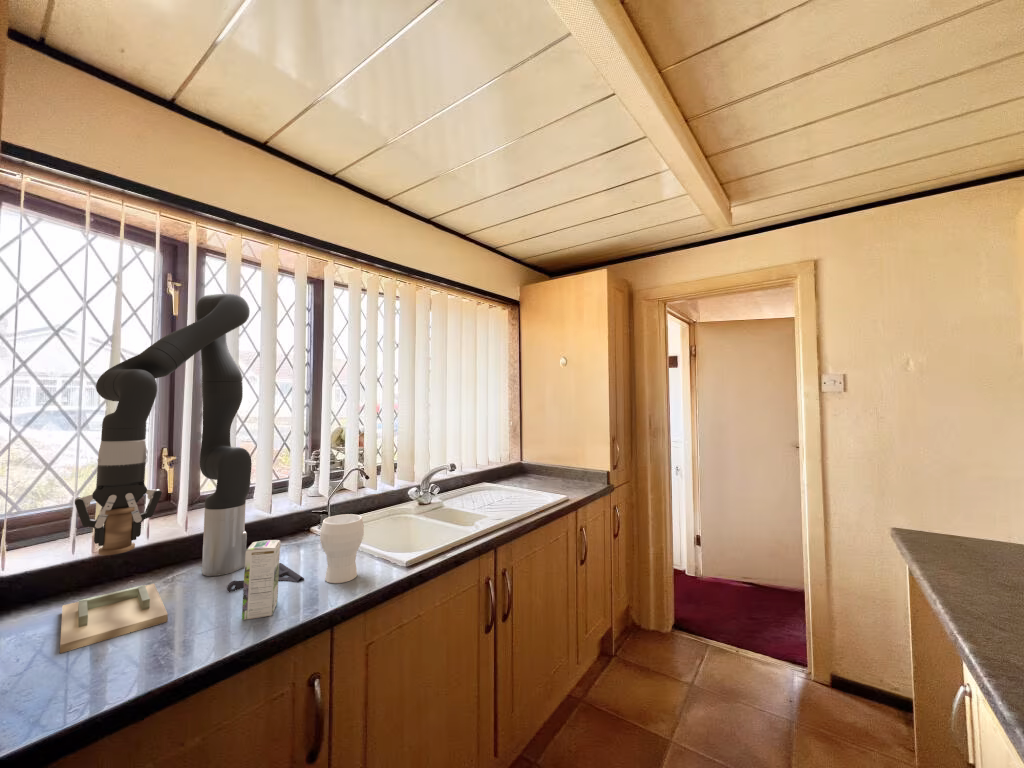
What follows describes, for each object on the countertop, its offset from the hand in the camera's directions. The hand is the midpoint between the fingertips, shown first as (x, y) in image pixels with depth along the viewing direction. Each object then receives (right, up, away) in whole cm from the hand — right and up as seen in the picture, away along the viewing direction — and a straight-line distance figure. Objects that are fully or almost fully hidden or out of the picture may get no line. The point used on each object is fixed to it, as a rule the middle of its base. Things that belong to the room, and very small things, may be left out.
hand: (117, 541), depth 87 cm
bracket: (+21, -18, +17) cm, 32 cm away
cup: (+40, -17, +20) cm, 47 cm away
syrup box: (+30, -16, +2) cm, 34 cm away
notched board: (0, -16, -1) cm, 16 cm away
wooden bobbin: (0, -2, 0) cm, 2 cm away
